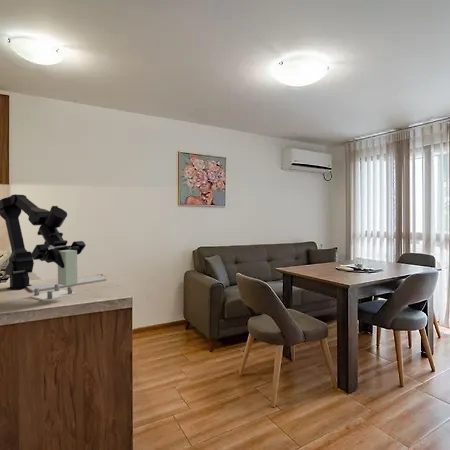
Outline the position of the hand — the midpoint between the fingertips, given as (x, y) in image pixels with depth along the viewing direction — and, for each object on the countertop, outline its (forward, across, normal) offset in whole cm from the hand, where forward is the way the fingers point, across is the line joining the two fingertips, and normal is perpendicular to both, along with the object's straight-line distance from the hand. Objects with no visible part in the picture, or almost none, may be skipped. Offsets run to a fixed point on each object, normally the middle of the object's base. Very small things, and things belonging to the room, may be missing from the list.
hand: (69, 266), depth 114 cm
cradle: (+1, 0, -16) cm, 16 cm away
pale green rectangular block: (+4, 0, -6) cm, 7 cm away
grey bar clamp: (-8, -15, -27) cm, 32 cm away
